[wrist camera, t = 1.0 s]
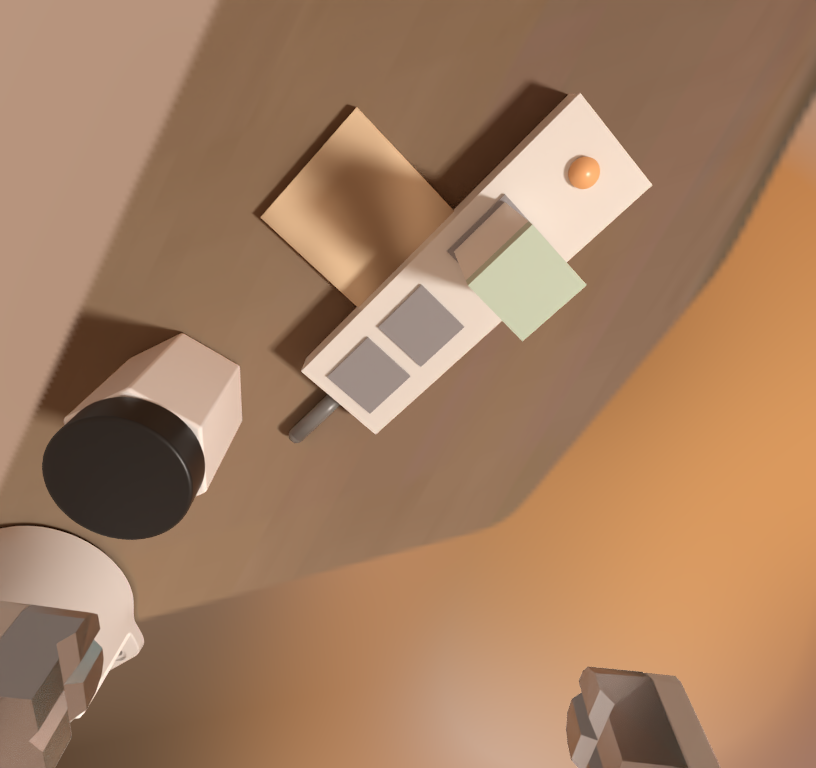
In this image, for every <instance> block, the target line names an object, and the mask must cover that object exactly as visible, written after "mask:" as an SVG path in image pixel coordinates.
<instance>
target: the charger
mask: <svg viewBox="0 0 816 768" xmlns="http://www.w3.org/2000/svg"><path fill="white" fill-rule="evenodd" d="M454 253H455V256H456V258H457V260H458V263H459V265H460V268H461V270H462V273H463V275H464V277H465V280H466V282H467V285H468V286H469V287H470V288H471V289H472V290H473V291H474V292H475V293H476V294H477V295H478V296H479V297H480V299H481V300H482V301H483V302H484V303H485V304H486V305H487V306H488V307H489V308H490V309H491V310H492V311H493V312H494V313H495V314H496V315H497V316H498V317H499V318H500V319H501V320H502V321H503V322H504V323H505V324H506V325H507V326H508V327H509V328H510V329H511V330H512V331H513V332H514V333H515V334H516V335H517V336H518V337H519V338H520V339H521V340H522V341H523V340H525V339H526V338H527V337H528V336H529V335H530V334H531V333H533V332H534V331H535V330H536V329H537V328H538V327H539V326H541V325H542V324H543V323H544V322H545V321H546V320H547V319H549V318H550V317H551V316H552V315H553V314H554V313H555V312H557V311H558V310H559V309H560V308H561V307H562V306H563V305H565V304H566V303H567V302H568V301H569V300H570V299H571V298H573V297H574V296H575V295H576V294H577V293H578V292H579V291H580V290H582V289H583V288H584V287H585V286H586V284H585V283H584V282H583V280H582V279H581V278H580V277H579V276H578V275H577V274H576V273H575V271H574V270H573V269H572V268H571V267H570V266H569V265H568V264H567V262H566V261H565V260H564V259H563V258H562V257H561V256H560V255H559V253H558V252H557V251H556V250H555V249H554V248H553V247H552V246H551V245H550V243H549V242H548V241H547V240H546V239H545V238H544V237H543V236H542V234H541V233H540V232H539V231H538V230H537V229H536V228H535V227H534V225H533V224H531V223H530V222H529V221H528V220H527V219H525V218H524V217H523V216H522V215H520V214H519V213H518V212H517V211H515V210H514V209H513V208H512V207H511V206H509V205H508V204H507V203H506V202H504V203H503V204H502V205H501V206H500V207H499V208H498V209H497V210H496V211H495V212H494V213H493V214H492V215H491V216H490V217H489V218H488V219H487V220H486V221H485V222H484V223H483V224H482V225H481V226H479V227H478V228H477V229H476V230H475V231H474V232H473V233H472V234H471V235H470V236H469V237H468V238H467V239H466V240H465V241H464V242H463V243H462V244H461V245H460V246H459V247H458V248H457V249H456V250H455V251H454Z"/></svg>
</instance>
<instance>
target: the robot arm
mask: <svg viewBox="0 0 816 768" xmlns="http://www.w3.org/2000/svg"><path fill="white" fill-rule="evenodd" d="M143 644H144V639H143V636H142V634H141V631H140V630H139V628H138V626H137V624H136V623H135V620H134V600H133V594H132V590H131V588H130V585H129V583H128V581H127V579H126V577H125V576H124V574H123V573H122V571H121V570H120V569H119V567H118V566H117V565H116V564H115V563H114V562H113V561H112V560H111V559H110V558H109V557H108V556H107V555H106V554H104V553H103V552H102V551H101V550H99V549H98V548H96V547H95V546H93V545H91V544H90V543H88V542H86V541H84V540H82V539H80V538H78V537H76V536H73V535H71V534H68V533H65V532H62V531H59V530H55V529H51V528H45V527H38V526H13V527H6V528H1V529H0V768H55V766H56V765H57V763H58V761H59V759H60V757H61V755H62V753H63V752H64V749H65V748H66V746H67V744H68V743H69V741H70V739H71V737H72V736H71V728H70V722H71V721H72V720H73V719H75V718H80V717H81V716H82V715H83V714H84V712H85V711H86V710H87V708H88V706H89V704H90V703H91V701H92V699H93V698H94V696H95V694H96V693H97V691H98V689H99V687H100V686H101V684H102V682H103V681H104V679H105V677H106V675H107V674H108V672H109V670H111V669H113V668H115V667H116V666H118V665H120V664H122V663H124V662H125V661H127V660H129V659H131V658H132V657H134V656H136V655H137V654H138V652H139V651H140V649H141V648H142V646H143ZM579 684H580V687H581V691H582V693H580V694H579V695H577V696H576V697H574V698H573V699H572V700H571V703H570V706H569V709H568V712H567V726H566V732H567V742H568V747H569V752H570V756H571V760H572V761H573V762H574V763H575V765H576V766H577V767H578V768H721V767H720V765H719V762H718V760H717V758H716V756H715V754H714V752H713V750H712V748H711V745H710V744H709V742H708V739H707V737H706V735H705V733H704V730H703V728H702V726H701V724H700V722H699V720H698V718H697V715H696V713H695V711H694V709H693V707H692V705H691V703H690V701H689V698H688V696H687V694H686V692H685V690H684V688H683V686H682V684H681V682H680V681H679V680H678V679H677V678H676V677H675V676H669V675H660V674H651V673H643V672H636V671H627V670H616V669H606V668H596V667H587V668H586V669H585V670H584V671H583V672H582V675H581V677H580V679H579Z"/></svg>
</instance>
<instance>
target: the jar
mask: <svg viewBox="0 0 816 768" xmlns="http://www.w3.org/2000/svg"><path fill="white" fill-rule="evenodd" d="M241 422H242V404H241V380H240V367H239V365H237V364H236V363H234V362H232V361H230V360H229V359H227V358H225V357H223V356H222V355H220V354H218V353H217V352H215V351H213V350H211V349H210V348H208V347H206V346H204V345H203V344H201V343H199V342H198V341H196V340H194V339H192V338H191V337H189V336H187V335H186V334H183V333H181V334H178V335H176V336H174V337H172V338H170V339H168V340H166V341H164V342H162V343H160V344H158V345H156V346H154V347H152V348H150V349H148V350H146V351H144V352H142V353H140V354H138V355H135V356H133V357H131V358H130V359H129V360H127V361H126V362H125V363H124V364H123V365H122V366H121V367H120V368H119V369H118V370H116V371H115V372H114V373H113V374H112V375H111V376H110V377H109V378H108V379H107V380H105V381H104V382H103V383H102V384H101V385H100V386H99V387H98V388H97V389H96V390H95V391H93V392H92V393H91V394H90V395H89V396H88V397H87V398H86V399H85V400H84V401H82V402H81V403H80V404H79V405H78V406H77V407H76V408H75V409H74V410H73V411H71V412H70V413H69V414H68V415H67V416H66V417H65V418H64V426H63V427H62V428H61V429H60V430H59V431H58V432H57V433H56V434H55V435H54V436H53V437H52V439H51V440H50V442H49V443H48V445H47V447H46V450H45V452H44V456H43V462H42V470H43V477H44V481H45V484H46V487H47V489H48V492H49V494H50V495H51V497H52V499H53V500H54V502H55V503H56V504H57V506H58V507H59V508H60V509H61V510H62V511H63V512H64V513H65V514H66V515H67V516H68V517H70V518H71V519H72V520H73V521H75V522H76V523H78V524H79V525H81V526H83V527H84V528H86V529H88V530H90V531H93V532H95V533H98V534H100V535H103V536H107V537H111V538H116V539H126V540H136V539H145V538H150V537H154V536H157V535H160V534H162V533H164V532H166V531H168V530H170V529H171V528H173V527H174V526H175V525H176V524H178V523H179V522H180V521H181V520H182V518H183V517H184V516H185V515H186V513H187V511H188V510H189V508H190V506H191V504H192V502H193V500H194V498H195V497H196V496H198V495H200V494H203V493H205V492H206V491H207V489H208V487H209V485H210V483H211V481H212V479H213V477H214V475H215V473H216V471H217V469H218V467H219V465H220V463H221V461H222V459H223V457H224V455H225V454H226V452H227V450H228V448H229V446H230V444H231V442H232V440H233V438H234V436H235V434H236V432H237V430H238V428H239V426H240V424H241Z"/></svg>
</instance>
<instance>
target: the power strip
mask: <svg viewBox="0 0 816 768" xmlns="http://www.w3.org/2000/svg"><path fill="white" fill-rule="evenodd" d="M651 186H652V184H651V183H650V182H649V180H648V179H647V178H646V176H645V175H644V174H643V173H642V171H641V170H640V169H639V167H638V166H637V165H636V164H635V162H634V161H633V160H632V159H631V157H630V156H629V155H628V153H627V152H626V151H625V150H624V148H623V147H622V146H621V144H620V143H619V142H618V141H617V139H616V138H615V137H614V136H613V134H612V133H611V132H610V130H609V129H608V128H607V127H606V125H605V124H604V123H603V121H602V120H601V119H600V118H599V116H598V115H597V114H596V113H595V111H594V110H593V109H592V107H591V106H590V105H589V104H588V102H587V101H586V100H585V99H584V97H583V96H582V95H581V93H576V94H568V95H567V96H566V97H565V98H564V99H563V100H562V101H561V102H560V103H559V104H558V105H557V106H556V107H555V108H554V109H553V110H552V111H551V112H550V113H549V114H548V115H547V116H546V117H545V118H544V119H543V120H542V121H541V122H540V123H539V124H538V125H537V126H536V127H535V128H534V129H533V130H532V131H531V132H530V133H529V134H528V135H527V136H526V137H525V138H524V139H523V141H522V142H521V143H520V144H519V145H518V146H517V147H516V148H515V149H514V150H513V151H512V152H511V153H510V154H509V155H508V156H507V157H506V158H505V159H504V160H503V161H502V162H501V163H500V164H499V165H498V166H497V167H496V168H495V169H494V170H493V171H492V172H491V173H490V174H489V175H488V176H487V177H486V178H485V179H484V180H483V181H482V182H481V183H480V184H479V185H478V186H477V187H476V188H475V189H474V190H473V191H472V192H471V193H470V194H469V195H468V196H467V197H466V198H465V199H464V200H463V201H462V202H461V203H460V204H459V205H458V206H457V207H456V208H455V209H454V212H453V213H452V214H451V215H450V216H449V217H448V218H447V219H446V220H445V221H444V222H443V223H442V224H441V225H440V226H439V227H438V228H437V229H436V230H435V231H434V232H433V233H432V234H431V235H430V236H429V237H428V238H427V239H426V240H425V241H424V242H423V243H422V244H421V245H420V246H419V247H418V248H417V249H416V250H415V251H414V252H413V253H412V254H411V255H410V256H409V257H408V258H407V259H406V260H405V261H404V262H403V263H402V264H401V265H400V266H399V267H398V268H397V269H396V270H395V271H394V272H393V273H392V274H391V275H390V276H389V277H388V278H387V279H386V280H385V281H384V282H383V283H382V284H381V285H380V286H379V287H378V288H377V289H376V290H375V291H374V292H373V293H372V294H371V295H370V296H369V297H368V298H367V299H366V300H365V301H364V302H363V303H362V304H361V305H360V306H359V307H356V308H355V309H354V310H353V311H352V312H351V313H350V314H349V315H348V316H347V317H346V318H345V319H344V320H343V321H342V322H341V323H340V324H339V325H338V326H337V327H336V328H335V329H334V330H333V331H332V332H331V333H330V334H329V335H328V336H327V337H326V338H325V339H324V340H323V341H322V342H321V343H320V344H319V345H318V346H317V347H316V348H315V349H314V350H313V351H312V352H311V353H310V354H309V355H308V356H307V357H306V360H305V362H304V365H303V368H302V370H301V372H302V373H303V374H305V375H306V376H307V377H308V378H309V379H311V380H312V381H313V382H314V383H315V384H317V385H318V386H319V387H320V388H321V389H322V390H324V391H325V392H326V393H327V395H326V396H325V397H324V398H323V399H322V400H321V401H320V402H319V403H318V404H317V405H316V406H315V407H314V408H313V409H312V410H311V411H310V412H309V413H308V414H307V415H306V416H304V417H303V418H302V419H301V420H300V421H299V422H298V423H297V424H296V425H295V426H294V427H293V428H292V429H291V430H290V432H289V439H290V440H291V441H292V442H294V443H299V442H301V441H303V440H304V439H305V438H306V437H307V436H308V435H309V434H310V433H311V432H312V431H313V430H314V429H315V428H316V427H317V426H318V425H320V424H321V423H322V422H323V421H324V420H325V419H326V418H327V417H328V416H329V415H330V414H331V413H332V412H333V411H334V410H335V409H336V408H338V407H339V406H340V405H341V406H343V407H344V408H345V409H346V410H347V411H348V412H350V413H351V414H352V415H353V416H354V417H356V418H357V419H358V420H359V421H360V422H361V423H363V424H364V425H365V426H366V427H367V428H369V429H370V430H371V431H372V432H373V433H375V434H377V433H378V432H379V431H380V430H381V429H382V428H383V427H385V426H386V425H387V424H388V423H389V422H390V421H391V420H392V419H393V418H395V417H396V416H397V415H398V414H399V413H400V412H401V411H402V410H403V409H405V408H406V407H407V406H408V405H409V404H410V403H411V402H412V401H413V400H415V399H416V398H417V397H418V396H419V395H420V394H421V393H422V392H423V391H424V390H426V389H427V388H428V387H429V386H430V385H431V384H432V383H433V382H434V381H436V380H437V379H438V378H439V377H440V376H441V375H442V374H443V373H444V372H446V371H447V370H448V369H449V368H450V367H451V366H452V365H453V364H454V363H456V362H457V361H458V360H459V359H460V358H461V357H462V356H463V355H464V354H466V353H467V352H468V351H469V350H470V349H471V348H472V347H473V346H474V345H475V344H477V343H478V342H479V341H480V340H481V339H482V338H483V337H484V336H485V335H487V334H488V333H489V332H490V331H491V330H492V329H493V328H494V327H495V326H497V325H498V324H499V323H500V322H501V321H502V320H501V319H500V318H499V317H498V316H497V315H496V314H495V313H494V312H493V311H492V310H491V309H490V308H489V307H488V306H487V305H486V304H485V303H484V302H483V301H482V300H481V299H480V297H479V296H478V295H477V294H476V293H475V292H474V291H473V290H472V289H471V288H470V287H469V286H468V285H467V282H466V280H465V277H464V275H463V273H462V270H461V268H460V265H459V263H458V260H457V258H456V256H455V253H454V251H455V250H456V249H457V248H458V247H459V246H460V245H461V244H462V243H463V242H464V241H465V240H466V239H467V238H468V237H469V236H470V235H471V234H472V233H473V232H474V231H475V230H476V229H477V228H478V227H479V226H481V225H482V224H483V223H484V222H485V221H486V220H487V219H488V218H489V217H490V216H491V215H492V214H493V213H494V212H495V211H496V210H497V209H498V208H499V207H500V206H501V205H502V204H503V203H504V202H506V203H507V204H508V205H509V206H511V207H512V208H513V209H514V210H515V211H517V212H518V213H519V214H520V215H522V216H523V217H524V218H525V219H527V220H528V221H529V222H530V223H531V224H533V225H534V227H535V228H536V229H537V230H538V231H539V232H540V233H541V234H542V236H543V237H544V238H545V239H546V240H547V241H548V242H549V243H550V245H551V246H552V247H553V248H554V249H555V250H556V251H557V252H558V253H559V255H560V256H561V257H562V258H563V259H564V260H565V261H566V262H568V261H569V260H570V259H571V258H572V257H573V256H574V255H575V254H576V253H577V252H579V251H580V250H581V249H582V248H583V247H584V246H585V245H586V244H587V243H589V242H590V241H591V240H592V239H593V238H594V237H595V236H596V235H597V234H599V233H600V232H601V231H602V230H603V229H604V228H605V227H606V226H607V225H609V224H610V223H611V222H612V221H613V220H614V219H615V218H616V217H617V216H619V215H620V214H621V213H622V212H623V211H624V210H625V209H626V208H627V207H629V206H630V205H631V204H632V203H633V202H634V201H635V200H636V199H637V198H638V197H640V196H641V195H642V194H643V193H644V192H645V191H646V190H647V189H648V188H650V187H651Z"/></svg>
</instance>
